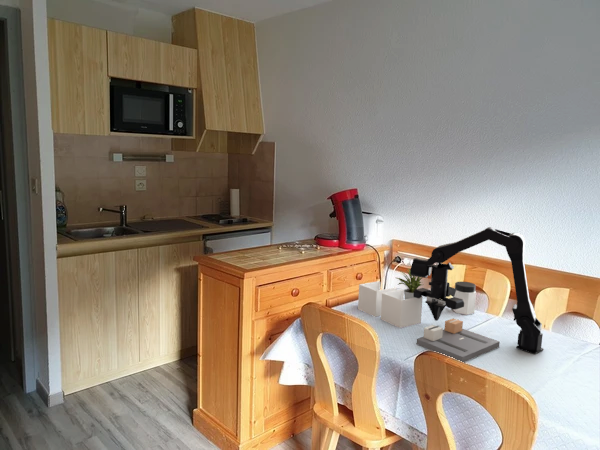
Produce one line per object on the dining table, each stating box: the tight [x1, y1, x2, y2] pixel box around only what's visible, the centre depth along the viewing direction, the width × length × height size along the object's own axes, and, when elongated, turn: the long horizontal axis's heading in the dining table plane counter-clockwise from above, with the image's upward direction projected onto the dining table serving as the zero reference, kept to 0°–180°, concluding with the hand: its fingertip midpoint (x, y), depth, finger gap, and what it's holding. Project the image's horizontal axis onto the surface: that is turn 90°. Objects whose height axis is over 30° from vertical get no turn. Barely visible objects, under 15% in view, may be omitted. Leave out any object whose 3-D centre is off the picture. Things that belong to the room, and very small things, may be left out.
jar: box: [452, 281, 477, 316], centre depth 196 cm, size 9×8×12 cm
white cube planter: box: [357, 280, 424, 329], centre depth 188 cm, size 25×11×11 cm, turn 33°
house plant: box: [394, 267, 423, 300], centre depth 204 cm, size 14×14×16 cm
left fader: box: [423, 324, 444, 341], centre depth 161 cm, size 4×5×4 cm
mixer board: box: [416, 328, 501, 363], centre depth 160 cm, size 18×22×2 cm
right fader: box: [444, 318, 464, 334], centre depth 168 cm, size 4×5×4 cm
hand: (436, 320), depth 174 cm, fingers closed
